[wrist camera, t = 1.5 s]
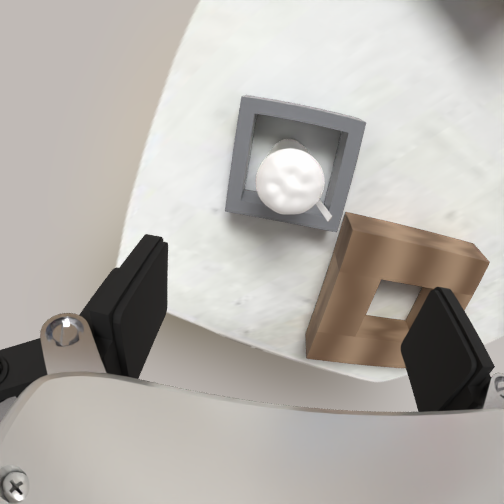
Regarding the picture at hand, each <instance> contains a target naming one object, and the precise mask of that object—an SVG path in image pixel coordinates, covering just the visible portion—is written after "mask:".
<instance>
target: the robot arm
mask: <svg viewBox="0 0 504 504" xmlns="http://www.w3.org/2000/svg"><path fill="white" fill-rule="evenodd" d="M167 271H168V243H167V242H163V238H162V237H159V236H153V235H148V234H146V235H144V237H143V238H142V239H141V240H140V242H139V243H138V244H137V246H136V247H135V248H134V249H133V251H132V252H131V253H130V255H129V256H128V257H127V259H126V260H125V261H124V262H123V264H122V265H121V266H120V268H114V269H113V270H112V271H111V273H110V274H109V275H108V277H107V278H106V279H105V280H104V282H103V283H102V285H101V286H100V287H99V288H98V290H97V291H96V293H95V294H94V295H93V297H92V298H91V299H90V301H89V302H88V304H87V305H86V306H85V308H84V309H83V311H82V312H81V313H80V315H77V314H73V313H62V314H58V315H55V316H53V317H51V318H50V319H48V320H47V321H46V322H45V323H44V324H43V326H42V329H41V331H40V338H39V339H36V340H32V341H29V342H26V343H22V344H19V345H16V346H12V347H9V348H6V349H2V350H0V504H504V374H503V373H496V374H494V375H493V376H492V377H490V374H489V373H490V372H491V371H492V370H493V368H494V367H495V366H494V364H493V362H492V361H491V358H490V357H489V355H488V353H487V351H486V349H485V347H484V345H483V343H482V341H481V340H480V338H479V336H478V334H477V332H476V330H475V329H474V327H473V325H472V323H471V322H470V320H469V318H468V316H467V315H466V313H465V311H464V310H463V308H462V306H461V305H460V303H459V301H458V300H457V298H456V296H455V295H454V293H453V292H452V290H451V289H449V288H443V287H435V288H434V290H431V291H430V292H429V294H428V296H427V298H426V300H425V302H424V304H423V306H422V307H421V309H420V311H419V313H418V315H417V317H416V319H415V320H414V322H413V324H412V326H411V328H410V329H409V331H408V333H407V335H406V336H405V338H404V340H403V342H402V344H401V354H402V357H403V360H404V363H405V367H406V370H407V373H408V376H409V380H410V383H411V387H412V390H413V393H414V397H415V400H416V404H417V408H418V412H371V411H369V412H368V411H348V410H330V409H318V408H307V407H297V406H287V405H279V404H270V403H264V402H256V401H249V400H243V399H236V398H230V397H225V396H219V395H214V394H208V393H203V392H197V391H192V390H187V389H182V388H177V387H173V386H168V385H164V384H159V383H155V382H150V381H145V380H140V379H138V378H139V376H140V373H141V371H142V368H143V366H144V364H145V361H146V359H147V356H148V354H149V352H150V349H151V347H152V345H153V342H154V340H155V338H156V336H157V333H158V331H159V329H160V326H161V324H162V322H163V320H164V317H165V315H166V311H167Z"/></svg>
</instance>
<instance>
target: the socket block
mask: <svg viewBox="0 0 504 504" xmlns="http://www.w3.org/2000/svg"><path fill="white" fill-rule="evenodd" d="M489 263H490V262H489V261H488V260H487V258H486V257H485V256H484V255H483V254H482V253H481V252H480V250H479V249H478V248H477V247H476V246H475V245H474V244H473V243H469V242H466V241H462V240H458V239H455V238H451V237H447V236H443V235H440V234H436V233H432V232H428V231H424V230H420V229H416V228H412V227H408V226H404V225H400V224H396V223H392V222H388V221H384V220H379V219H375V218H371V217H366V216H362V215H357V214H353V213H348V212H345V215H344V219H343V222H342V226H341V229H340V232H339V236H338V239H337V242H336V245H335V248H334V252H333V255H332V258H331V261H330V264H329V267H328V270H327V273H326V277H325V280H324V283H323V286H322V288H321V291H320V294H319V297H318V300H317V303H316V306H315V309H314V312H313V315H312V317H311V320H310V323H309V326H308V329H307V331H306V358H308V359H315V360H323V361H331V362H340V363H349V364H359V365H370V366H381V367H394V368H406V367H405V363H404V360H403V357H402V354H401V344H402V342H403V340H404V338H405V336H406V335H407V333H408V331H409V329H410V328H411V326H412V324H413V322H414V320H415V319H416V317H417V315H418V313H419V311H420V309H421V307H422V306H423V304H424V302H425V300H426V298H427V296H428V294H429V292H430V291H431V290H434V288H435V287H443V288H449V289H451V290H452V292H453V293H454V295H455V296H456V298H457V300H458V301H459V303H460V305H461V306H462V308H463V310H465V308H466V307H467V305H468V303H469V301H470V299H471V298H472V296H473V294H474V292H475V290H476V288H477V287H478V285H479V283H480V281H481V279H482V277H483V275H484V273H485V271H486V269H487V267H488V265H489ZM381 279H382V280H387V281H393V282H399V283H404V284H410V285H415V286H421V287H422V289H421V291H420V293H419V295H418V297H417V299H416V301H415V303H414V305H413V307H412V309H411V311H410V313H409V315H408V317H407V319H406V320H397V319H390V318H383V317H376V316H369V315H366V313H367V311H368V308H369V306H370V304H371V302H372V300H373V297H374V295H375V293H376V290H377V288H378V286H379V283H380V281H381Z"/></svg>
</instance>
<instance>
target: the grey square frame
mask: <svg viewBox="0 0 504 504" xmlns="http://www.w3.org/2000/svg"><path fill="white" fill-rule="evenodd" d="M257 114H261V115H267V116H273V117H278V118H284V119H289V120H294V121H299V122H304V123H309V124H313V125H318V126H322V127H327V128H331V129H335V130H339V131H341V136H340V140H339V144H338V149H337V153H336V157H335V161H334V165H333V170H332V174H331V178H330V182H329V186H328V190H327V194H326V198H325V201H324V206H325V207H326V208H327V210H328V211H329V212H330V214H331V215H332V218H331V220H330V221H329V222H328V221H327V220H326V219H325V217H324V216H323V214H322V213H321V211H320V210H319V209H318V207H317V206H316V204H315V205H314V206H313V207H312V208H310V209H309V210H307V211H306V212H304V213H300V214H279V213H277V212H275V211H273V210H272V209H270V208H269V207H268V206H266V205H265V204H264V203H263V202H262V201H261V199H260V198H259V196H258V193H257V192H256V191H250V190H245V184H246V178H247V172H248V166H249V159H250V153H251V147H252V141H253V135H254V129H255V123H256V117H257ZM365 125H366V122H364V121H362V120H361V119H359V118H355V117H351V116H348V115H344V114H340V113H336V112H331V111H327V110H323V109H318V108H314V107H309V106H305V105H300V104H295V103H290V102H284V101H279V100H273V99H267V98H261V97H255V96H248V95H245V96H242V97H241V103H240V110H239V116H238V123H237V129H236V136H235V143H234V149H233V156H232V163H231V170H230V178H229V185H228V192H227V200H226V207H225V211H226V212H232V213H238V214H243V215H249V216H254V217H260V218H265V219H271V220H276V221H281V222H287V223H292V224H297V225H302V226H307V227H312V228H317V229H322V230H327V231H332V232H337V230H338V227H339V224H340V220H341V217H342V213H343V210H344V206H345V203H346V199H347V196H348V192H349V188H350V185H351V181H352V177H353V173H354V170H355V166H356V162H357V158H358V154H359V150H360V146H361V142H362V138H363V134H364V130H365Z"/></svg>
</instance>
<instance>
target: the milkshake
mask: <svg viewBox="0 0 504 504" xmlns="http://www.w3.org/2000/svg"><path fill="white" fill-rule="evenodd" d="M324 185H325V180H324V174H323V171H322V168H321V166H320V165H319V163H318V162H317V161H316V160H315V159H314V158H313V157H312V155H311V154H310V153H309V152H308V150H307V149H306V148H305V146H304V145H302V144H301V143H299V142H298V141H296V140H295V139H282V140H281V141H279V142H278V143H276V144H275V145H274V146H273V147H272V149H271V150H270V152H269V153H268V155H267V157H266V158H265V159H264V160H263V162H262V163H261V165H260V166H259V168H258V171H257V174H256V190H257V193H258V196H259V198H260V199H261V201H262V202H263V203H264V204H265V205H266V206H268V207H269V208H270V209H272V210H273V211H275V212H277V213H279V214H300V213H304V212H306V211H307V210H309V209H310V208H312V207H313V206H314V205H315V204H316V206H317V207H318V209H319V210H320V211H321V213H322V214H323V216H324V217H325V219H326V220H327V221H328V222H329V221H330V220H331V218H332V215H331V214H330V212H329V211H328V210H327V208H326V207H325V206H324V204H323V203H322V201H321V200H320V197H321V195H322V193H323V190H324Z"/></svg>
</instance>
